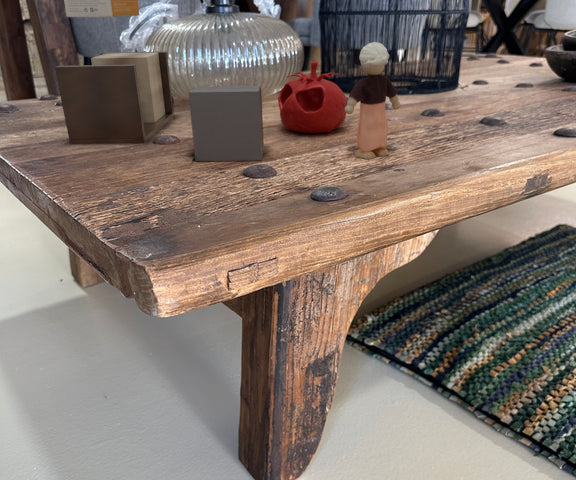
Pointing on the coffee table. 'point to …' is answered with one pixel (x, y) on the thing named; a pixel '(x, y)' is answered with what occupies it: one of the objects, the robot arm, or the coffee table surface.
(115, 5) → the small box
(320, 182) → the coffee table surface
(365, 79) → the grandmother figurine
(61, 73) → the book rack
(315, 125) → the hollow red tomato
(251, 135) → the matte grey upright block
